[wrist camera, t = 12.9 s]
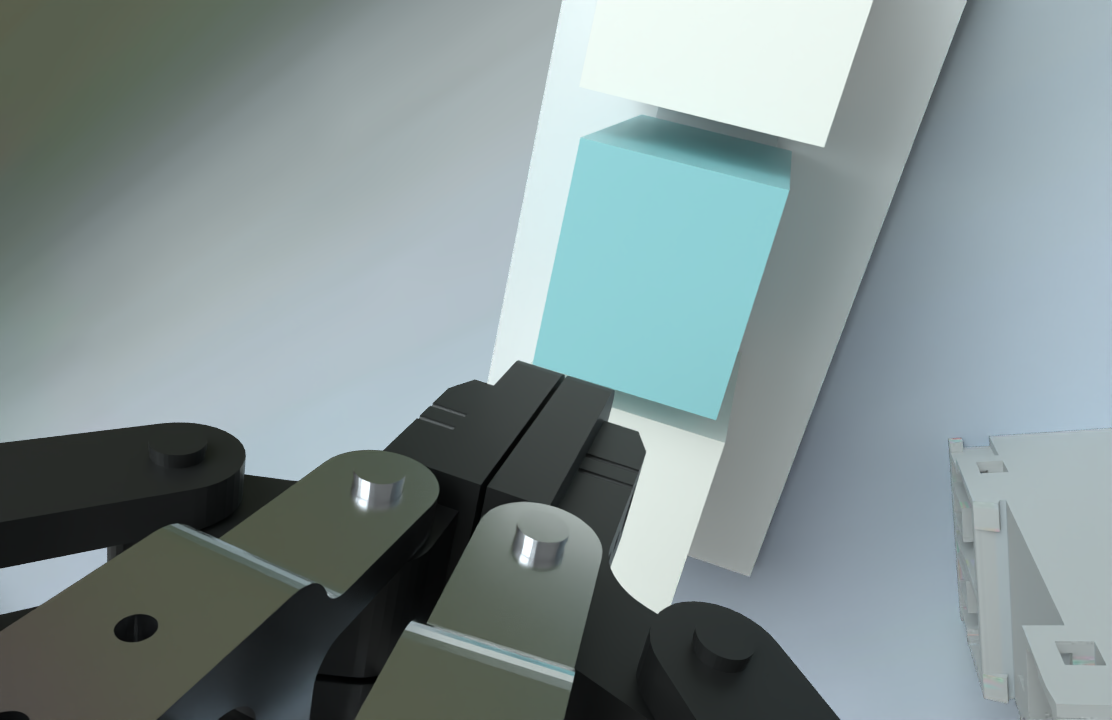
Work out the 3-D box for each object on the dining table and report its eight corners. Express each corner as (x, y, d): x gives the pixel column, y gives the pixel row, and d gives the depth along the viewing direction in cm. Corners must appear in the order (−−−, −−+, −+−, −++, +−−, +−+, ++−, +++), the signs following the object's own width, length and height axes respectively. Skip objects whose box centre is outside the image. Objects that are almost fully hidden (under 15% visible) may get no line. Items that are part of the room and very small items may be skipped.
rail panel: (621, -247, 25) (536, -393, 17) (1026, -177, 23) (1151, -304, 15) (478, 468, 36) (381, 592, 27) (751, 560, 33) (736, 724, 25)
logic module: (641, 114, 27) (580, 137, 20) (791, 150, 26) (789, 190, 19) (601, 283, 30) (532, 364, 22) (737, 322, 29) (716, 420, 21)
